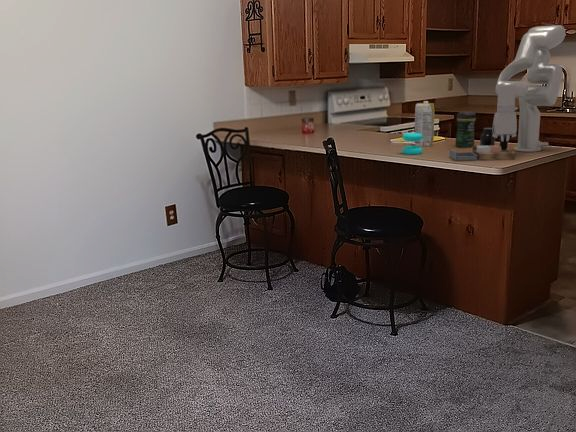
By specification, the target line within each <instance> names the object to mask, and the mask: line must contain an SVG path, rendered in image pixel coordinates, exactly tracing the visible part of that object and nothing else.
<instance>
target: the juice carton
mask: <svg viewBox="0 0 576 432" xmlns="http://www.w3.org/2000/svg"><path fill="white" fill-rule="evenodd" d="M414 110H415V112H414V133H420V134H422V135H423V138H422V139H421V140H420V141H414V146H419V147H430V146H433V144H434V138H435V137H434V136H435V103H431V102H430V103H429V101H428V100H423V102H418V103H416V104H415V109H414Z"/></svg>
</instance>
